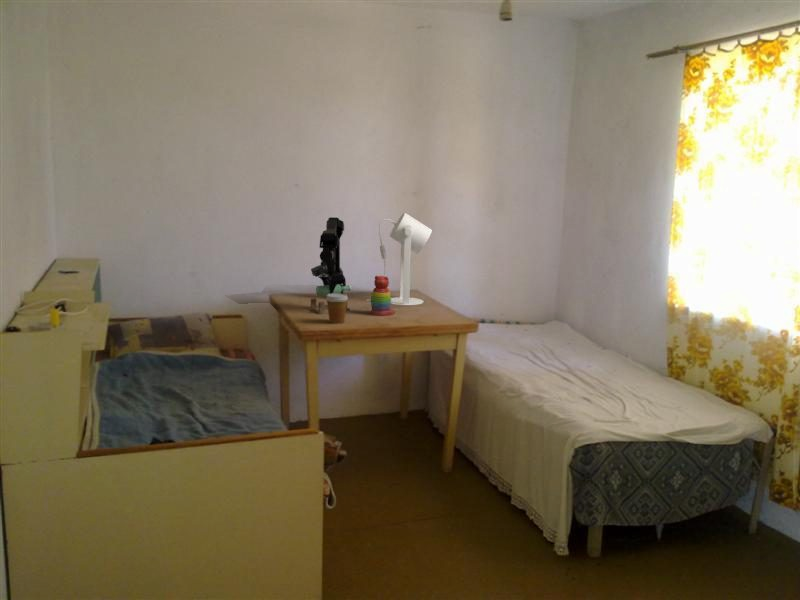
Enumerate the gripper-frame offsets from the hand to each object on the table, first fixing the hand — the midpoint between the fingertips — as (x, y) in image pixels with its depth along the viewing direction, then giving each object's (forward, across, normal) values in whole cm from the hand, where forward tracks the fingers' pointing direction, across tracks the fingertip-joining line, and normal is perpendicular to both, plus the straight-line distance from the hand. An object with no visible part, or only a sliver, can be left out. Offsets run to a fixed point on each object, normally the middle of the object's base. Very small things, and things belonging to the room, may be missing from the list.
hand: (329, 292), depth 307 cm
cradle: (+8, 0, 0) cm, 8 cm away
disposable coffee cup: (+8, +24, -8) cm, 27 cm away
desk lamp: (+9, -2, +40) cm, 41 cm away
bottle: (+1, 0, +3) cm, 3 cm away
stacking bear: (+9, +18, +18) cm, 27 cm away
